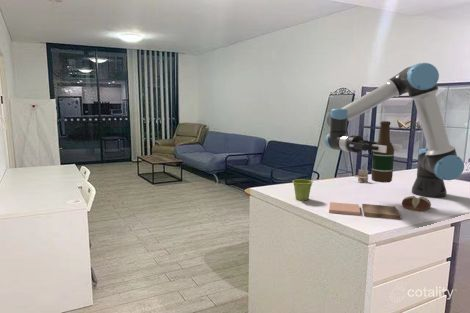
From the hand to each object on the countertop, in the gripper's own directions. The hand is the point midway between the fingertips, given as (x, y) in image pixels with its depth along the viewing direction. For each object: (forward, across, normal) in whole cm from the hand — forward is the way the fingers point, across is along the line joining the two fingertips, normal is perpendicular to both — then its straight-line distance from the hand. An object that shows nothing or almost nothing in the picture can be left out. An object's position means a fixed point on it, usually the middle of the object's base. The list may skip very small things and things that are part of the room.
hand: (393, 148), depth 126 cm
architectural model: (-55, -38, -28) cm, 72 cm away
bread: (-5, -21, -27) cm, 35 cm away
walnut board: (-5, 0, -27) cm, 27 cm away
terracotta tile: (-14, +10, -27) cm, 32 cm away
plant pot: (-35, +17, -27) cm, 48 cm away
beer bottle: (-5, 0, -14) cm, 15 cm away
